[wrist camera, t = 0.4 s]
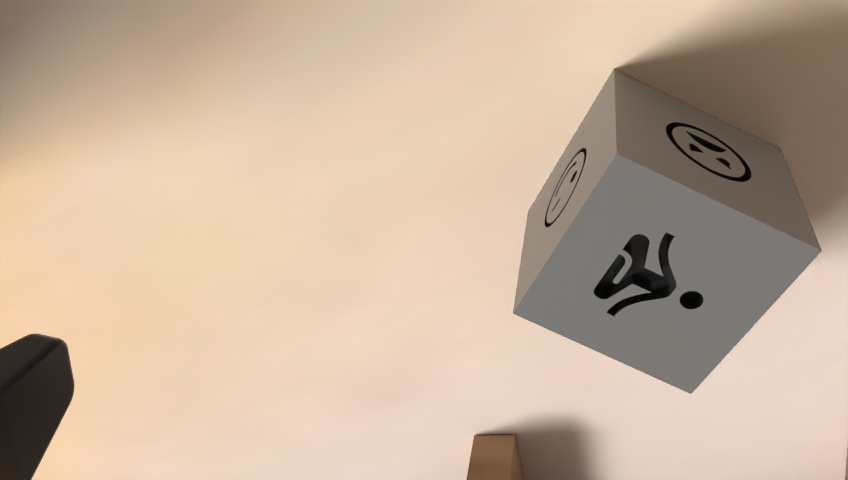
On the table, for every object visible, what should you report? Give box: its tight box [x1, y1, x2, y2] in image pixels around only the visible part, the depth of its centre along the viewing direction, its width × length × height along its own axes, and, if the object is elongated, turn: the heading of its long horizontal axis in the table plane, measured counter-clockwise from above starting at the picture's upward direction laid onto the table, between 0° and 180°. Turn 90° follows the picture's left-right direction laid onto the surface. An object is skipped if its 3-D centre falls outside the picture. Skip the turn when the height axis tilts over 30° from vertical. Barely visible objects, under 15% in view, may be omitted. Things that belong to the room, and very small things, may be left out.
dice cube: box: [513, 69, 822, 394], centre depth 21 cm, size 5×5×5 cm
